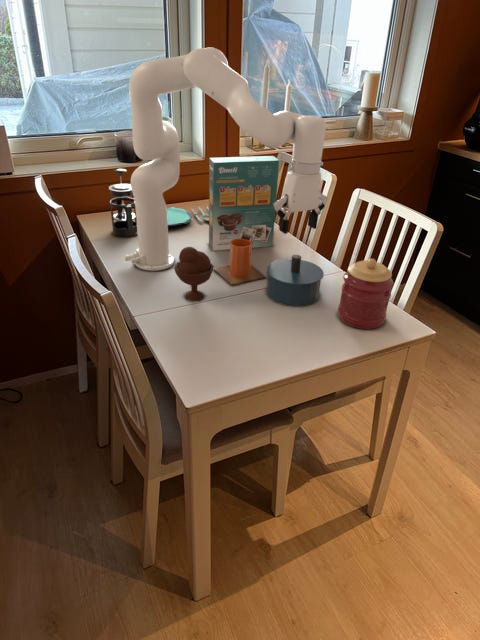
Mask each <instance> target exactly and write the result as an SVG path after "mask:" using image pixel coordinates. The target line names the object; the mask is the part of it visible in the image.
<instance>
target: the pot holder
mask: <svg viewBox="0 0 480 640" xmlns="http://www.w3.org/2000/svg"><path fill="white" fill-rule="evenodd" d="M213 272H215V273H217V275H218V276H220V277H221V278H222V279H223V280H225V281H226V282H227V283H228V284H229V285H230V286H233V287H234V286H237V285H242V284H246V283H250V282H255V281H259V280H263V279H266V276H265V275H264V274H263V273H262V272H261V271H259V270H258V269H257V268H255V267H254V266H253V265H251V272H250V275H248V276H246V277H236V276H233V275H231V274H230V264H228V265H224V266H218V267H215V268H213Z"/></svg>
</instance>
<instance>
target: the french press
mask: <svg viewBox="0 0 480 640" xmlns="http://www.w3.org/2000/svg"><path fill="white" fill-rule="evenodd" d="M113 172H114V173H117V174H118V175H119V178H120V183H115V184H111V185H109V186H108V190H109V192H110V195H111V196H112V197H114V198H111V199H110V200H109V207H110V218H111V225H112V226H111V227H112V232H111V234H112V235H113V236H114V237H117V238H121V239H122V238H124V239H125V238H126V239H127V238H132V237H135V236H138V232H137V219H136V208H135V201H134V197H132V196H133V192H132V189H131V183H123V181H122V180H123V179H122V176H123V173H126V172H127V169H125V168H117V169H114V170H113ZM124 202H132V203H129V204H125V203H124ZM114 209H116V210H117V212H116V213H114ZM133 211H134V212H133Z"/></svg>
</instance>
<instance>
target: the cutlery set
mask: <svg viewBox="0 0 480 640" xmlns="http://www.w3.org/2000/svg"><path fill="white" fill-rule="evenodd" d="M197 209H198V211H200V213H201V214H202V219H203V220H204V221H207V222H209V215H206V214H205V213H204V211H203V209H202V208H201V207H200V206H199V207H197ZM205 209H206V210H207V211H208V212H209V206H205ZM190 211H192V213H193V215H194V217H195V218H196V219H197V221H198V222H200V223H203V222H202V221H203V220H202V219H201V218H200V217H199V215H198V213H197V212H195V211H194V209H193V208H190ZM167 218H168V227H177V226H181V225H187V224H188V223H190V222H191V221H192V214H191V213H189V212H188V211H187V210H185V209H184V208H180V207H173V206H171V207H167Z"/></svg>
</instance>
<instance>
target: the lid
mask: <svg viewBox="0 0 480 640" xmlns="http://www.w3.org/2000/svg"><path fill="white" fill-rule="evenodd" d="M266 273H267V276H268V275H269V276H270V277H271V278H272V279H274V280H276V281H278V282H281V283H284V284H289V285H310V284H314V283H317V282H319V281H320V280H321V281H322V279H324V270H323V268H321V267H320V266H319V265H317V264H315V263H313V262H311V261H308V260H303V259H302V256H301V255H299V254H292V255H291V258H285V259H279V260H275V261H273V262H271V263H269V264H268V266H267V267H266Z"/></svg>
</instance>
